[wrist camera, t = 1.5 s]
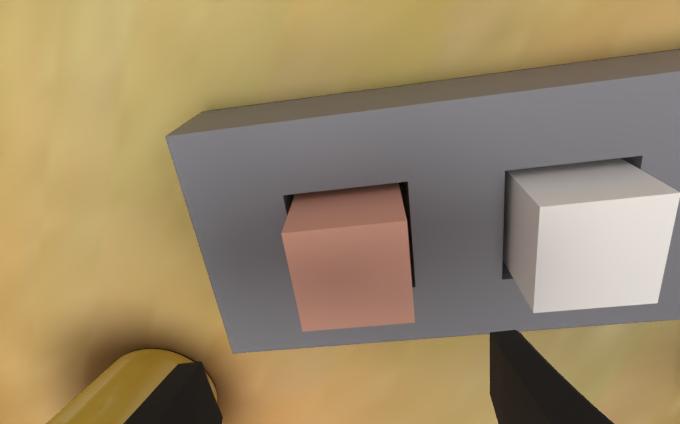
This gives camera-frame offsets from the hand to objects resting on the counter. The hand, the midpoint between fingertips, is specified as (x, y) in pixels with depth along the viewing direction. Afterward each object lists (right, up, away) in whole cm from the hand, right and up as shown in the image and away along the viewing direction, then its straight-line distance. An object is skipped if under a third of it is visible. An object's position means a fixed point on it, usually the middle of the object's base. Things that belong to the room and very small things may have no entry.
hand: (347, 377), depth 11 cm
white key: (+8, +4, +6) cm, 11 cm away
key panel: (+4, +5, +9) cm, 11 cm away
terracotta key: (0, +4, +7) cm, 8 cm away
